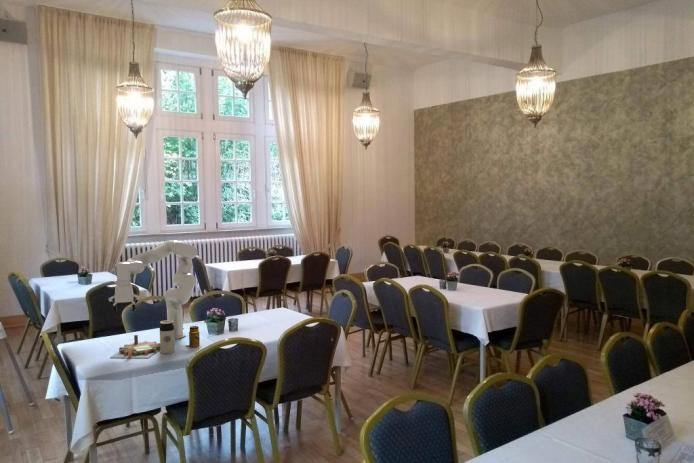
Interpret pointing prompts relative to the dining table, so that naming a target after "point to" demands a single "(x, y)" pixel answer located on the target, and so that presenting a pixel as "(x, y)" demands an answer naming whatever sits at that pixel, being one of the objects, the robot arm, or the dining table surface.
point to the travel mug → (167, 337)
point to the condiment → (193, 337)
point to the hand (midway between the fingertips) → (124, 311)
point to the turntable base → (130, 355)
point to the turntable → (140, 347)
